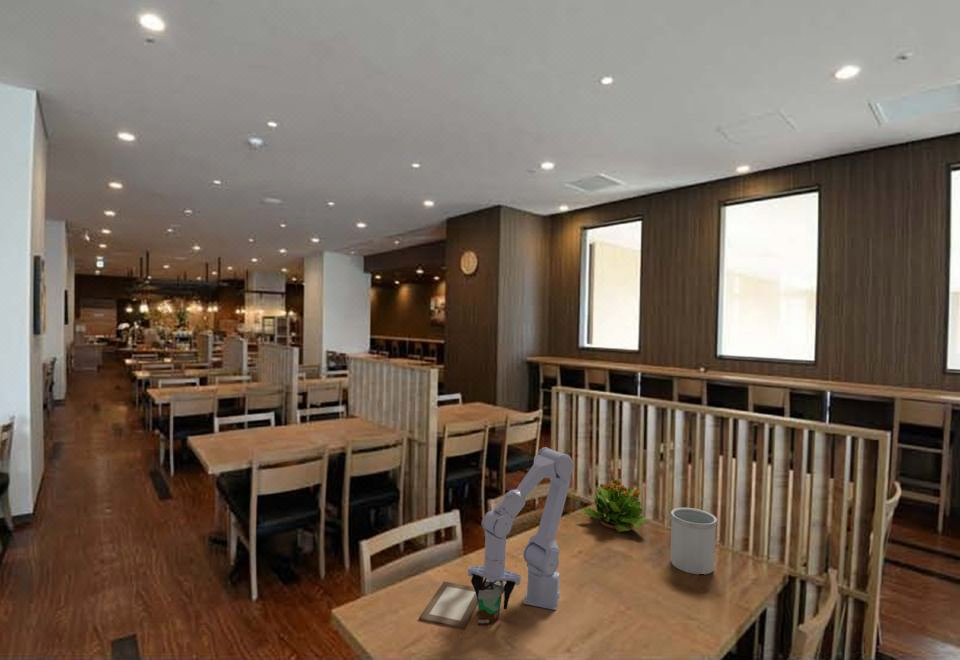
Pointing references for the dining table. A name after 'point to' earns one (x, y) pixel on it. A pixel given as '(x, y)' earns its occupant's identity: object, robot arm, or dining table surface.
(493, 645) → the dining table surface
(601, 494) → the potted flower
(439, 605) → the brown picture frame
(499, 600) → the food container
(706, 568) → the utensil holder
